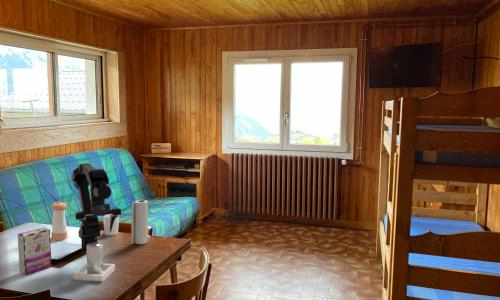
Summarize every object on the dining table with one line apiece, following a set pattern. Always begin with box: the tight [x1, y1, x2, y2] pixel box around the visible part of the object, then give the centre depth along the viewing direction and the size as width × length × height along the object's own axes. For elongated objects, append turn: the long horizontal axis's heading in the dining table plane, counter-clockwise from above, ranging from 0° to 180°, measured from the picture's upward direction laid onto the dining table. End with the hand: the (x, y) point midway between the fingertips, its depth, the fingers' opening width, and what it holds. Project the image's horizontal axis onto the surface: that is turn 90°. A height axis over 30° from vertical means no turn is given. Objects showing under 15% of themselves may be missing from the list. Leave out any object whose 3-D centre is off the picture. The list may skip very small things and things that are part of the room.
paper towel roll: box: [130, 199, 149, 245], centre depth 198 cm, size 7×6×21 cm
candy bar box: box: [17, 226, 52, 276], centre depth 162 cm, size 11×5×16 cm, turn 148°
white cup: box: [102, 214, 120, 236], centre depth 211 cm, size 8×8×10 cm
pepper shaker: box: [50, 201, 68, 241], centre depth 201 cm, size 7×7×19 cm
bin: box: [73, 263, 116, 283], centre depth 160 cm, size 12×12×2 cm
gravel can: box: [86, 241, 104, 275], centre depth 159 cm, size 6×6×12 cm
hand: (99, 233), depth 175 cm, fingers open, 9 cm apart
